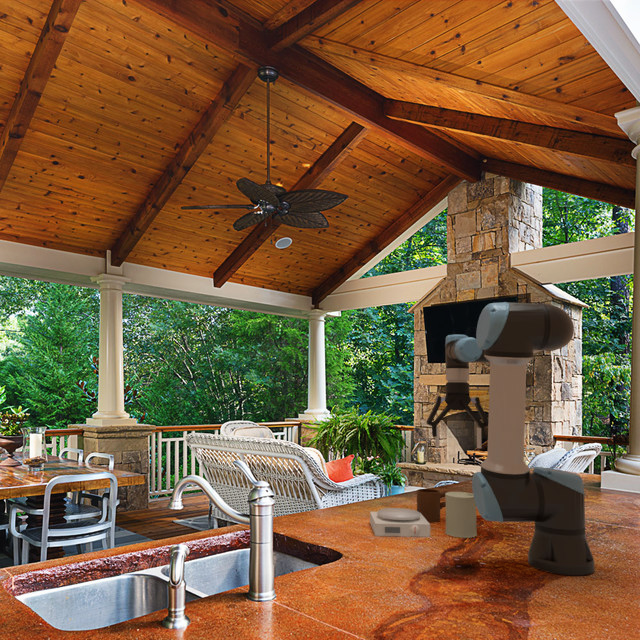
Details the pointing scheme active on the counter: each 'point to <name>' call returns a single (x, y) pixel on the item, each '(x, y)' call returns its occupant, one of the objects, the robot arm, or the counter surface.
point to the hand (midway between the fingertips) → (458, 447)
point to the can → (460, 515)
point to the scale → (399, 523)
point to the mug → (430, 503)
